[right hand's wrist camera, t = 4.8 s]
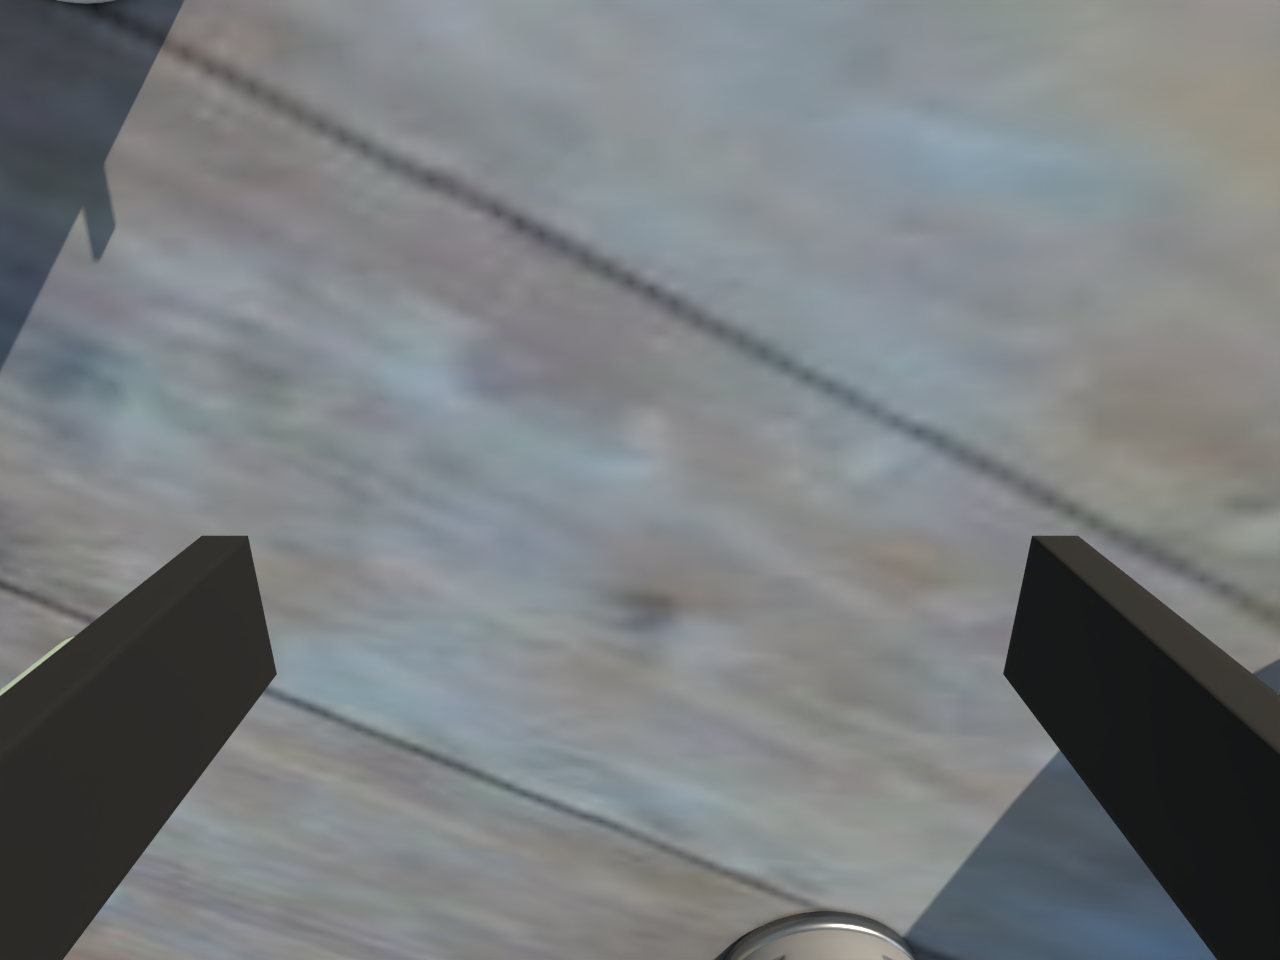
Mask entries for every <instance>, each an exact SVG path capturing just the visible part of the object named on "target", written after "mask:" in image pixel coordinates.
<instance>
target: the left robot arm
mask: <svg viewBox="0 0 1280 960" xmlns="http://www.w3.org/2000/svg"><path fill="white" fill-rule="evenodd" d="M57 1H63V2H70V3H86V4H90V3H103V2H110V1H115V0H57Z"/></svg>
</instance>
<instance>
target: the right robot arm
mask: <svg viewBox="0 0 1280 960" xmlns="http://www.w3.org/2000/svg"><path fill="white" fill-rule="evenodd" d="M276 674H277V673H276V669H275V664H274V659H273V654H272V649H271V645H270V640H269V635H268V630H267V625H266V621H265V616H264V611H263V606H262V601H261V597H260V592H259V587H258V582H257V577H256V573H255V568H254V563H253V558H252V554H251V549H250V544H249V539H248V536H201V537H200V538H199V539H197V540H196V541H195V542H194V543H192V544H191V545H190V546H189V547H187V548H186V549H185V550H184V551H182V552H181V553H180V554H179V555H177V556H176V557H175V558H173V559H172V560H171V561H170V562H168V563H167V564H166V565H165V566H163V567H162V568H161V569H160V570H158V571H157V572H156V573H155V574H153V575H152V576H151V577H149V578H148V579H147V580H146V581H144V582H143V583H142V584H141V585H139V586H138V587H137V588H136V589H134V590H133V591H132V592H131V593H129V594H128V595H127V596H125V597H124V598H123V599H122V600H120V601H119V602H118V603H117V604H115V605H114V606H113V607H112V608H110V609H109V610H108V611H107V612H105V613H104V614H103V615H102V616H100V617H99V618H98V619H96V620H95V621H94V622H93V623H91V624H90V625H89V626H88V627H86V628H85V629H84V630H83V631H81V632H80V633H79V634H78V635H76V636H75V637H74V638H72V639H71V640H70V641H69V642H67V643H66V644H65V645H64V646H62V647H61V648H60V649H59V650H57V651H56V652H55V653H54V654H52V655H51V656H50V657H48V658H47V659H46V660H45V661H43V662H42V663H41V664H40V665H38V666H37V667H36V668H35V669H33V670H32V671H31V672H30V673H28V674H27V675H26V676H24V677H23V678H22V679H21V680H19V681H18V682H17V683H16V684H14V685H13V686H12V687H11V688H9V689H8V690H7V691H6V692H4V693H3V694H2V695H1V696H0V960H63V959H64V957H65V956H66V955H67V953H68V952H69V951H70V949H71V948H72V947H73V945H74V944H75V943H76V941H77V940H78V939H79V937H80V936H81V935H82V933H83V932H84V931H85V929H86V928H87V927H88V925H89V924H90V923H91V921H92V920H93V919H94V917H95V916H96V915H97V913H98V912H99V911H100V909H101V908H102V907H103V905H104V904H105V903H106V901H107V900H108V899H109V897H110V896H111V895H112V893H113V892H114V891H115V889H116V888H117V887H118V885H119V884H120V883H121V881H122V880H123V879H124V877H125V876H126V875H127V873H128V872H129V871H130V869H131V868H132V867H133V865H134V864H135V863H136V861H137V860H138V859H139V857H140V856H141V855H142V853H143V852H144V851H145V849H146V848H147V847H148V845H149V844H150V843H151V841H152V840H153V839H154V837H155V836H156V834H157V833H158V832H159V830H160V829H161V828H162V826H163V825H164V824H165V822H166V821H167V820H168V818H169V817H170V816H171V814H172V813H173V812H174V810H175V809H176V808H177V806H178V805H179V804H180V802H181V801H182V800H183V798H184V797H185V796H186V794H187V793H188V792H189V790H190V789H191V788H192V786H193V785H194V784H195V782H196V781H197V780H198V778H199V777H200V776H201V774H202V773H203V772H204V770H205V769H206V768H207V766H208V765H209V764H210V762H211V761H212V760H213V758H214V757H215V756H216V754H217V753H218V752H219V750H220V749H221V748H222V746H223V745H224V744H225V742H226V741H227V740H228V738H229V737H230V736H231V734H232V733H233V732H234V730H235V729H236V728H237V726H238V725H239V724H240V722H241V721H242V720H243V718H244V717H245V716H246V714H247V713H248V712H249V710H250V709H251V708H252V706H253V705H254V704H255V702H256V701H257V700H258V698H259V697H260V696H261V694H262V693H263V692H264V690H265V689H266V688H267V686H268V685H269V684H270V682H271V681H272V680H273V678H274V677H275V676H276ZM1003 674H1004V676H1005V677H1006V678H1007V680H1008V681H1009V682H1010V684H1011V685H1012V686H1013V688H1014V689H1015V690H1016V692H1017V693H1018V694H1019V696H1020V697H1021V698H1022V700H1023V701H1024V702H1025V704H1026V705H1027V706H1028V708H1029V709H1030V710H1031V712H1032V713H1033V714H1034V716H1035V717H1036V718H1037V720H1038V721H1039V722H1040V724H1041V725H1042V726H1043V728H1044V729H1045V730H1046V732H1047V733H1048V734H1049V736H1050V737H1051V738H1052V740H1053V741H1054V742H1055V744H1056V745H1057V746H1058V748H1059V749H1060V750H1061V752H1062V753H1063V754H1064V756H1065V757H1066V758H1067V760H1068V761H1069V762H1070V764H1071V765H1072V766H1073V768H1074V769H1075V770H1076V772H1077V773H1078V774H1079V776H1080V777H1081V778H1082V780H1083V781H1084V782H1085V784H1086V785H1087V786H1088V788H1089V789H1090V790H1091V792H1092V793H1093V794H1094V796H1095V797H1096V798H1097V800H1098V801H1099V802H1100V804H1101V805H1102V806H1103V808H1104V809H1105V810H1106V812H1107V813H1108V814H1109V816H1110V817H1111V818H1112V820H1113V821H1114V822H1115V824H1116V825H1117V826H1118V828H1119V829H1120V830H1121V832H1122V833H1123V835H1124V836H1125V837H1126V839H1127V840H1128V841H1129V843H1130V844H1131V845H1132V847H1133V848H1134V849H1135V851H1136V852H1137V853H1138V855H1139V856H1140V857H1141V859H1142V860H1143V861H1144V863H1145V864H1146V865H1147V867H1148V868H1149V869H1150V871H1151V872H1152V873H1153V875H1154V876H1155V877H1156V879H1157V880H1158V881H1159V883H1160V884H1161V885H1162V887H1163V888H1164V889H1165V891H1166V892H1167V893H1168V895H1169V896H1170V897H1171V899H1172V900H1173V901H1174V903H1175V904H1176V905H1177V907H1178V908H1179V909H1180V911H1181V912H1182V913H1183V915H1184V916H1185V917H1186V919H1187V920H1188V921H1189V923H1190V924H1191V925H1192V927H1193V928H1194V929H1195V931H1196V932H1197V933H1198V935H1199V936H1200V937H1201V939H1202V940H1203V941H1204V943H1205V944H1206V945H1207V947H1208V948H1209V949H1210V951H1211V952H1212V953H1213V955H1214V956H1215V957H1216V959H1217V960H1280V696H1279V695H1278V694H1277V693H1276V692H1274V691H1273V690H1272V689H1271V688H1269V687H1268V686H1267V685H1266V684H1264V683H1263V682H1262V681H1261V680H1259V679H1258V678H1257V677H1256V676H1254V675H1253V674H1252V673H1250V672H1249V671H1248V670H1247V669H1245V668H1244V667H1243V666H1242V665H1240V664H1239V663H1238V662H1237V661H1235V660H1234V659H1233V658H1232V657H1230V656H1229V655H1228V654H1226V653H1225V652H1224V651H1223V650H1221V649H1220V648H1219V647H1218V646H1216V645H1215V644H1214V643H1213V642H1211V641H1210V640H1209V639H1208V638H1206V637H1205V636H1204V635H1202V634H1201V633H1200V632H1199V631H1197V630H1196V629H1195V628H1194V627H1192V626H1191V625H1190V624H1189V623H1187V622H1186V621H1185V620H1184V619H1182V618H1181V617H1180V616H1178V615H1177V614H1176V613H1175V612H1173V611H1172V610H1171V609H1170V608H1168V607H1167V606H1166V605H1165V604H1163V603H1162V602H1161V601H1160V600H1158V599H1157V598H1156V597H1155V596H1153V595H1152V594H1151V593H1149V592H1148V591H1147V590H1146V589H1144V588H1143V587H1142V586H1141V585H1139V584H1138V583H1137V582H1136V581H1134V580H1133V579H1132V578H1131V577H1129V576H1128V575H1127V574H1125V573H1124V572H1123V571H1122V570H1120V569H1119V568H1118V567H1117V566H1115V565H1114V564H1113V563H1112V562H1110V561H1109V560H1108V559H1107V558H1105V557H1104V556H1103V555H1101V554H1100V553H1099V552H1098V551H1096V550H1095V549H1094V548H1093V547H1091V546H1090V545H1089V544H1088V543H1086V542H1085V541H1084V540H1083V539H1081V538H1080V537H1079V536H1032V539H1031V544H1030V549H1029V554H1028V558H1027V563H1026V568H1025V573H1024V577H1023V582H1022V587H1021V592H1020V597H1019V601H1018V606H1017V611H1016V616H1015V621H1014V625H1013V630H1012V635H1011V640H1010V645H1009V649H1008V654H1007V659H1006V664H1005V669H1004V673H1003ZM724 960H917V959H916V957H915V955H914V953H913V951H912V949H911V948H910V946H909V945H908V944H907V942H906V941H905V940H904V939H903V938H902V937H901V936H900V935H899V934H897V933H896V932H895V931H893V930H892V929H890V928H889V927H887V926H885V925H884V924H882V923H879V922H877V921H875V920H872V919H870V918H867V917H863V916H860V915H855V914H850V913H843V912H829V911H823V912H809V913H802V914H796V915H792V916H788V917H784V918H781V919H778V920H775V921H773V922H770V923H768V924H766V925H764V926H762V927H760V928H758V929H756V930H754V931H753V932H751V933H750V934H748V935H747V936H745V937H744V938H743V939H742V940H740V941H739V942H738V943H737V944H736V945H735V946H734V947H733V948H732V949H731V950H730V952H729V953H728V954H727V956H726V957H725V959H724Z"/></svg>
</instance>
